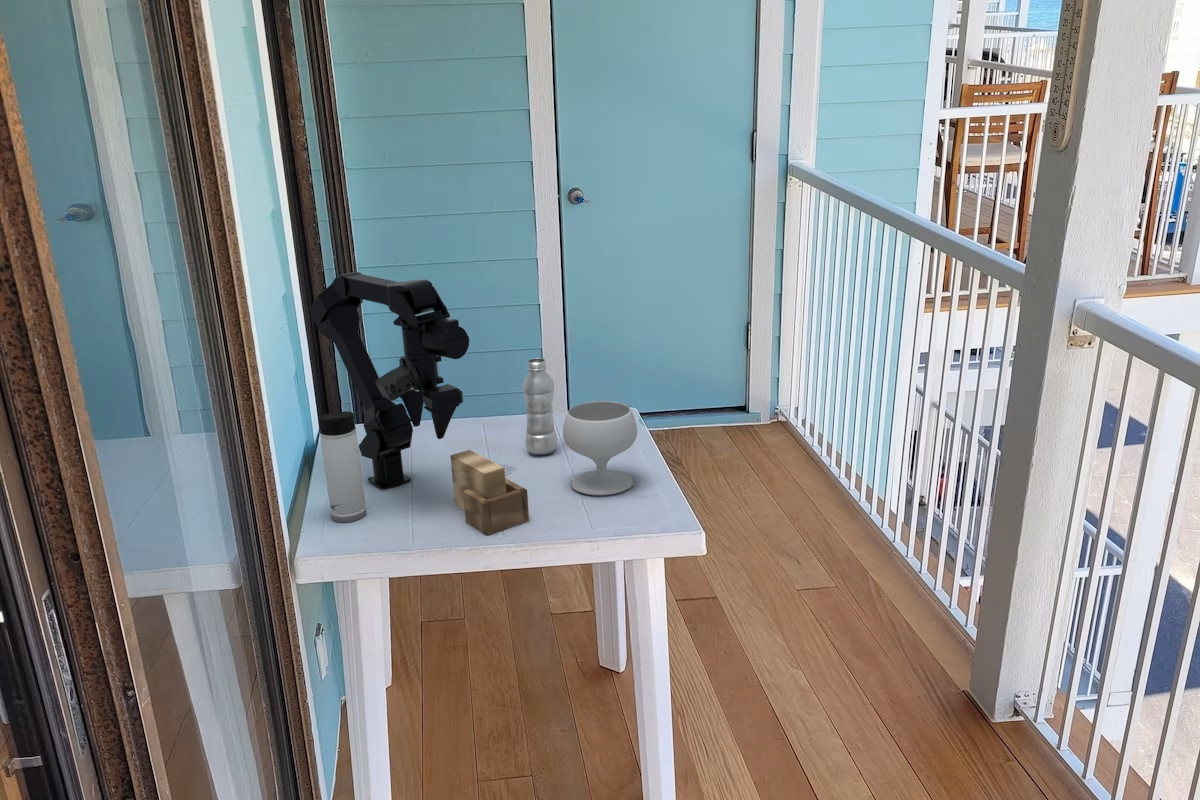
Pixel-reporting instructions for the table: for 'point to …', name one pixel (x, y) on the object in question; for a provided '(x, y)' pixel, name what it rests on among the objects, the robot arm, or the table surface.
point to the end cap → (497, 509)
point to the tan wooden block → (476, 476)
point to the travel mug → (342, 466)
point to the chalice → (600, 443)
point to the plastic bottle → (539, 408)
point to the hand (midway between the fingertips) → (428, 432)
